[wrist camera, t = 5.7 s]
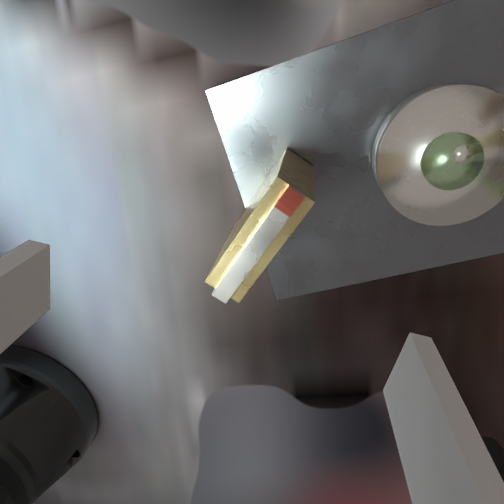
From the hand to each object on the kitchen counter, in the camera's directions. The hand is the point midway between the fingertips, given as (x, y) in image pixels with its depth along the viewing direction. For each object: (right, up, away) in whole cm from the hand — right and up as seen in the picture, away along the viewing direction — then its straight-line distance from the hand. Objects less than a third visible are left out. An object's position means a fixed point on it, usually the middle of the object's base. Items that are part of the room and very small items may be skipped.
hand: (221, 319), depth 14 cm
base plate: (+13, +9, +12) cm, 20 cm away
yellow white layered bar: (+2, +6, +13) cm, 15 cm away
